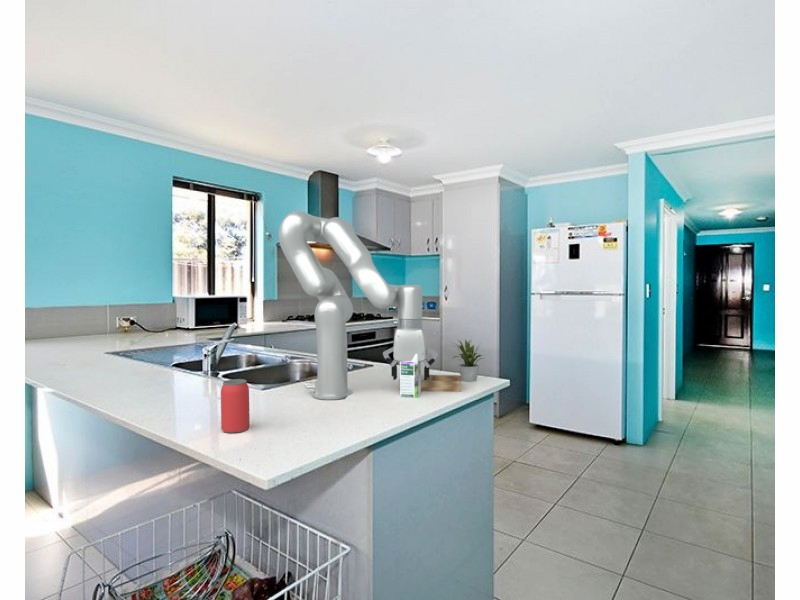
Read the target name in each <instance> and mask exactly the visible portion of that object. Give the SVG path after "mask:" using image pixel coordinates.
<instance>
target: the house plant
mask: <svg viewBox="0 0 800 600" xmlns="http://www.w3.org/2000/svg"><path fill="white" fill-rule="evenodd" d="M457 341H458V342H459V343H460V345H458V344H457V343H456V342H455V343H454V342H453V341H452V342H451V341H450V343H452V346H453V347H455V346H456V347H457V350H458V351H459V354H458V355H453V357H452V360H453V359H455V358H458V357H460V358H461V359H462V360H463V361H462V360H461V359H459V358H458V360H460V362H461V364H458V367H459V368H458V369H459V375H461V382H464V383H474V382H477V380H478V374H479V366H480V365H479V364H477V363H478V361H480V360H481V359H483V357H481V356H484V355H482V354H480V353H479V352H478V350H479V349H478V348H479V347H480V345H481V342H480V343H479V345H478V346H477V347H476V349H475V345H474V344H473V345H471V343H472V340H468V341H467V339H464V344H463V342H462V341H461V340H459V339H457ZM453 344H455V345H453ZM459 355H460V356H459ZM479 357H481V358H479ZM463 362H464V363H463Z"/></svg>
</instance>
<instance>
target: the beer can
mask: <svg viewBox="0 0 800 600" xmlns="http://www.w3.org/2000/svg"><path fill="white" fill-rule="evenodd" d="M247 382H248V381H247V380H246V379H242V378H234V379H227V380H224V381H222V386H221V388H220V420H221V421H220V426H221V431H222V432H224V433H227V434H238V433H243V432H245V431H247V430H249V428H250V426H251V423H250V421H251V420H250V388H249V384H248V383H247Z"/></svg>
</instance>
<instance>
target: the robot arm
mask: <svg viewBox="0 0 800 600" xmlns="http://www.w3.org/2000/svg"><path fill="white" fill-rule="evenodd" d="M278 241H279V245H280V248H281V250H282V253H283V255H284V256H285V258H286V260H287V262H288V263H289V265H290V267H291V269H292V271H293V273H294V275H295V276H296V278H297V281H298V282H299V284H300V285H301V287H302V290H303V291H304V292H305V294H306V295H309V296H311V297H316V298H317V300H318V302H317V303H316V307H315V309H314V323H315V329H316V333H315V334H316V352H317V353H316V359H317V360H316V363H317V367H316V370H317V371H316V372H317V378H316V379H317V380H316V381H314V382H312V381H305V383H304V388H305V389H307V390H312V389H313V392H312V397H313V398H315V399H318V400H327V401H328V400H330V401H332V400H341V399H346V398H347V397H348V396H350V395H352V394H353V390H352V389H350V388H348V386H349V383H348V334H347V333H348V332H347V326H346V323H347V322H348V321H349V320H350V319H352V316H353V313H354V306H353V303H352V301H351V299H350V297H349V296H348V294H347V292H346V290H345V288H344V287H343V284H342V283H341V281H340V280H339V278H338V276H337V275H336V273H334V272H333V271H332V270H331V269H330V268H326V267H324V266H322V265H321V262H320V261H319V259H318V258H317V255H316V254H315V252H314V250H313V249H312V247H311V246H310V245H309V243H308V242H313V243H320V244H326V245H330V247H331V248H332V249H333V251H334V252H335V253H336V254H337V256H338V258H340V260H341V261H342V263H343V264H344V266H345V267H346V268H347V270H348V272H349V273H350V275H351V276H352V278H353V280H354V282H355V283H356V285H357V286H358V287H359V289H360V291H361V293H363V294H364V296H365V297H366V298H367V300H368V301H369V302H370V304H372V306H374V307H375V308H376V309H379V310H385V309H389V308H395V307H397V319H396V320H393V326H397V328H395V330H394V336H393V346H392V347H390V348H388V349H386V350H384V351H383V352H382V356H383V358H384V360H385V361H386V362H387V364H389V366H390V367H391V377H392V378H393V380H397V378H398V365H397V363H398V362H400V361H412V359H413V358H414V356H415V354H418V362H423V364H424V365H425V367H424V380H427V377H429V375H430V367H431V366H432V365H433V364H434V363H435V361H436V359H437V357H438V356H439V353H438V352H437V351H435V350H434V349H432V348H430V347H429V346H427V337H426V331H425V330H426V329H425V328H423V288H422V286H421V285H419V284H401V285H397V284H389V283H388V282H387V281H386V280H385V279H384V277H383V276H382V275H381V273H380V272H379V270H378V269H377V267H376V266H375V264H374V261H373V258H372V255H371V252H370V251H369V250H368V248H367V247H366V246H365V245H364V243H363V242H362V241H361V239H360V238H359V237H358V235H357V233H356V231H355V228H354V225H352V224H351V222H349V221H348V220H346V219H343V218H341V217H338V216H335V217H331V218H326V217H319V216H315V215H312V214H310V213H307V212H305V211H303V210H294V211H290V212H289V213H288V214H287V215H285V217H284V218H283V219H282V221H281V222H280V225H279V229H278ZM391 353H393V354H392V355H393V357H392V358H393V359H392V358H391V357H390V355H389V354H391ZM428 354H429V355H432V357H431V359H428V358H427V355H428Z"/></svg>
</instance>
